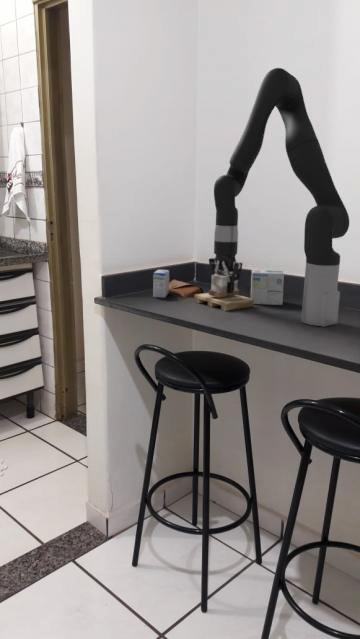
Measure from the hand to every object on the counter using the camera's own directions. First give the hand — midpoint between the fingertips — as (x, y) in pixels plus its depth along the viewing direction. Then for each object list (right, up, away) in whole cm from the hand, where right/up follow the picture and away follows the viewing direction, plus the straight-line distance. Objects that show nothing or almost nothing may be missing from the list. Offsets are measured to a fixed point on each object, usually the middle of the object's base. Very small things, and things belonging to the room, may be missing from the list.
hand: (224, 291), depth 169 cm
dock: (0, -4, +1) cm, 4 cm away
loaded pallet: (0, -1, 0) cm, 1 cm away
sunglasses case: (-15, 0, +19) cm, 24 cm away
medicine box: (-21, -1, +13) cm, 25 cm away
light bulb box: (+15, -4, +5) cm, 16 cm away
